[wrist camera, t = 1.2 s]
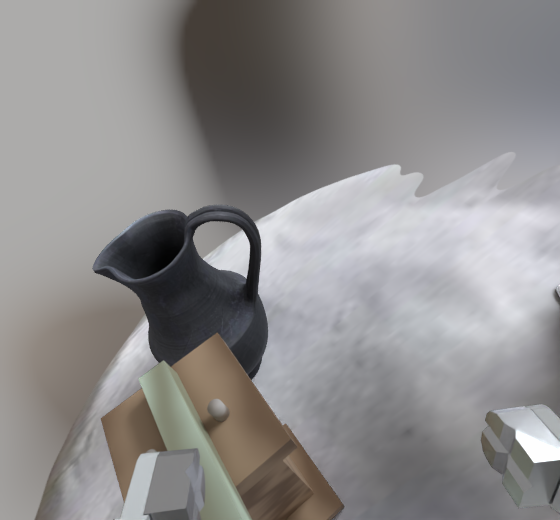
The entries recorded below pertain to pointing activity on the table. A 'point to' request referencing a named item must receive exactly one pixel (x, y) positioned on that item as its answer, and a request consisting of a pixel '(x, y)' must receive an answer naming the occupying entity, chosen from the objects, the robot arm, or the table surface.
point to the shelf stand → (229, 439)
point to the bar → (191, 441)
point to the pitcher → (190, 285)
